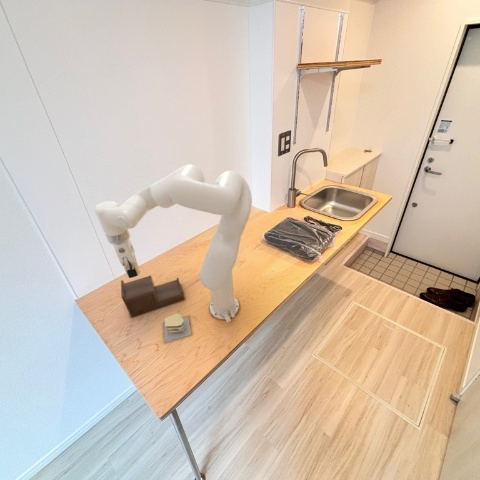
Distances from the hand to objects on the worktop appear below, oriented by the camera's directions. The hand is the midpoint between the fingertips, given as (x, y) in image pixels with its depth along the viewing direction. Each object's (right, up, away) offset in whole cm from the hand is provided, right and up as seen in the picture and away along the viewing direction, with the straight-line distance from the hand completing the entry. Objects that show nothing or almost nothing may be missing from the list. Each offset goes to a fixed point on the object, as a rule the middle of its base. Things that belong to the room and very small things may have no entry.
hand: (133, 271), depth 99 cm
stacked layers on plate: (+18, -23, 0) cm, 29 cm away
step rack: (+6, -15, +13) cm, 20 cm away
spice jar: (0, -1, +1) cm, 1 cm away
